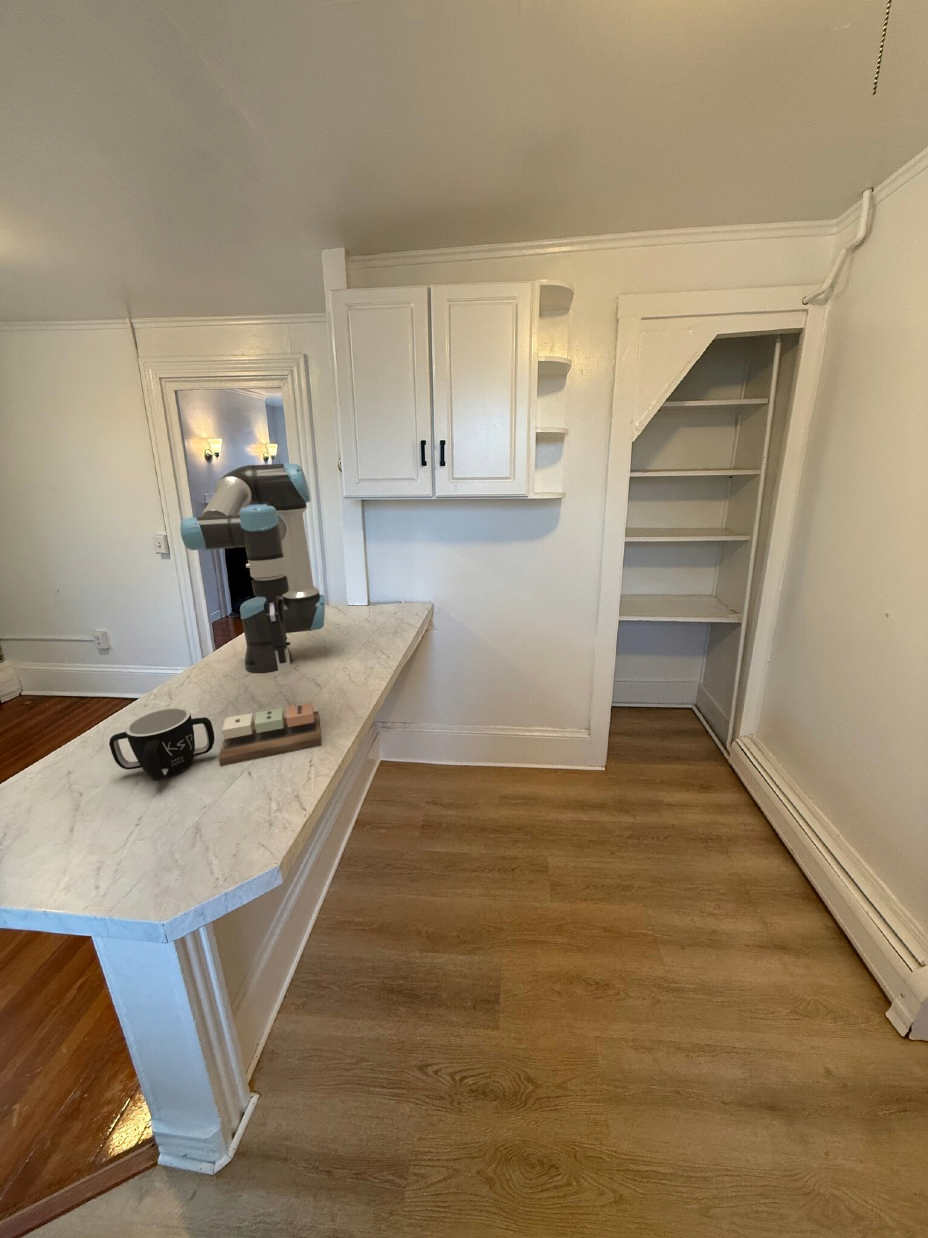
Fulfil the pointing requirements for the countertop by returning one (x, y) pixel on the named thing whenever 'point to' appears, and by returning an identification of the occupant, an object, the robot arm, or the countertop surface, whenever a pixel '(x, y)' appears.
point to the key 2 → (269, 720)
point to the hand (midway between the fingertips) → (285, 673)
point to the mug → (162, 742)
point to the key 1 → (238, 726)
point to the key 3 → (300, 714)
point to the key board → (271, 742)
